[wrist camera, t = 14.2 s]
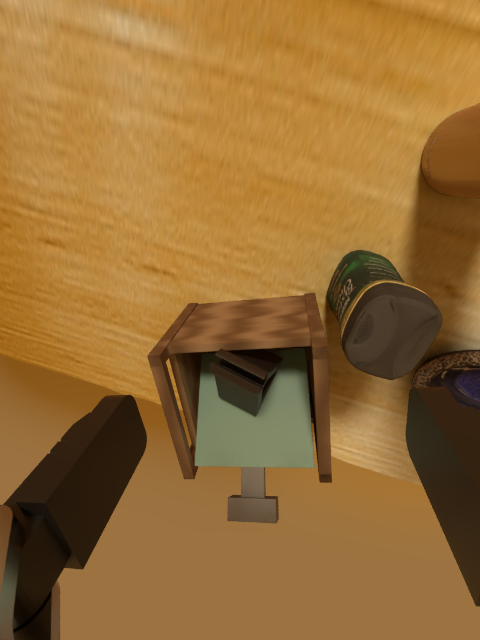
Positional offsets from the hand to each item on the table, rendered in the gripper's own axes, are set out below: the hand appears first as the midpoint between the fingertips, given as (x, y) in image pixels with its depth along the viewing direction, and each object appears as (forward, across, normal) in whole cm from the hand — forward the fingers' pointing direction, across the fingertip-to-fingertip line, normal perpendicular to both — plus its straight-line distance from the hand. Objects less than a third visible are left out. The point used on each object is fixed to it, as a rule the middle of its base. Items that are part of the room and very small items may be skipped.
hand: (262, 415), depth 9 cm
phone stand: (+30, +6, +19) cm, 36 cm away
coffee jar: (+38, -10, +9) cm, 41 cm away
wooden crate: (+38, +6, +20) cm, 43 cm away
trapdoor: (+27, +6, +26) cm, 38 cm away
